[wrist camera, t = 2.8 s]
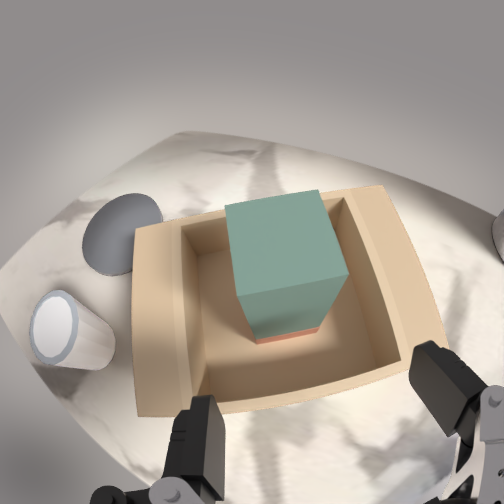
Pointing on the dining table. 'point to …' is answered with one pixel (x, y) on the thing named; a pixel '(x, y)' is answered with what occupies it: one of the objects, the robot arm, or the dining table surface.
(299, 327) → the box
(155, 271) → the carton
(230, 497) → the dining table surface
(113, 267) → the slate plate
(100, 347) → the white cup
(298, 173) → the dining table surface
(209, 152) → the dining table surface
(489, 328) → the dining table surface
